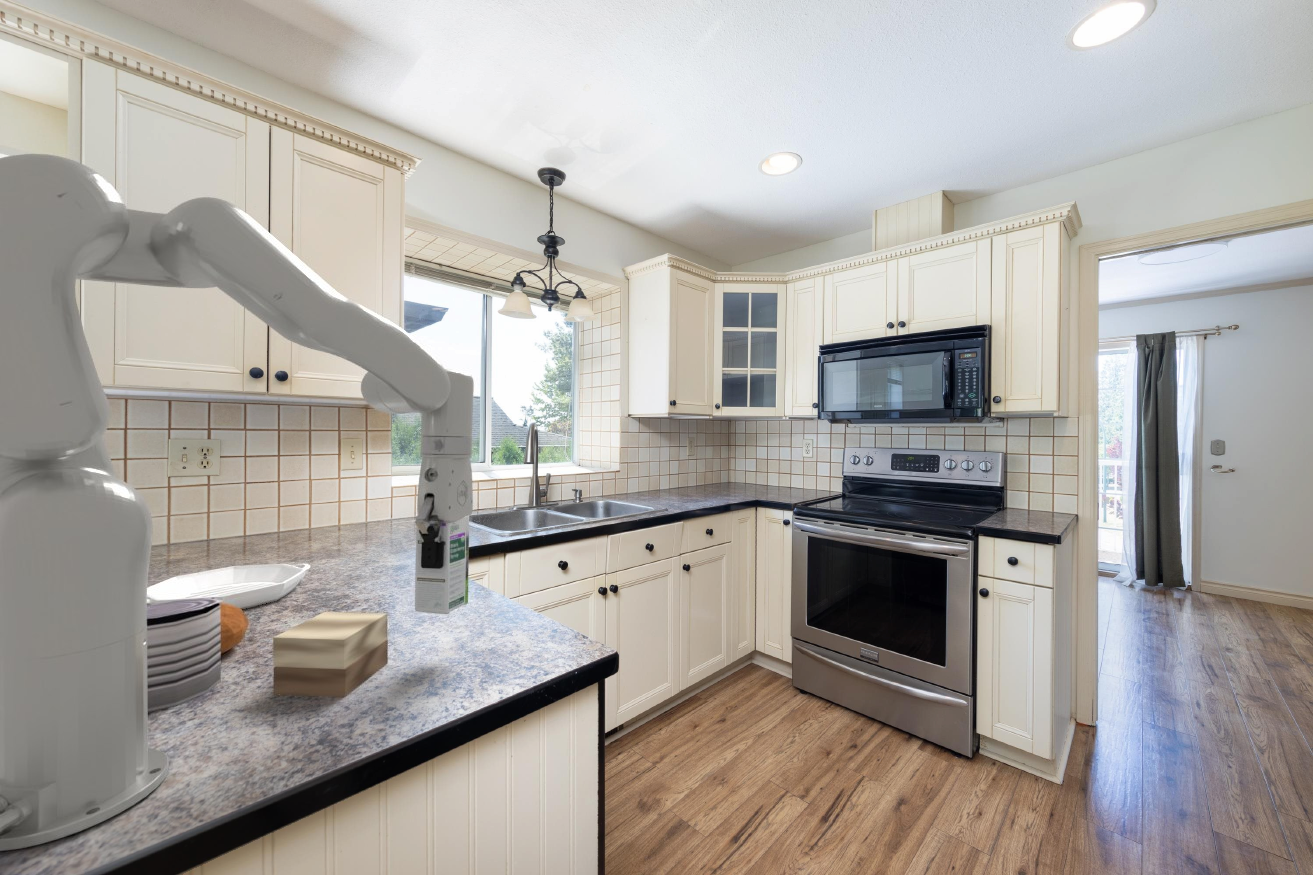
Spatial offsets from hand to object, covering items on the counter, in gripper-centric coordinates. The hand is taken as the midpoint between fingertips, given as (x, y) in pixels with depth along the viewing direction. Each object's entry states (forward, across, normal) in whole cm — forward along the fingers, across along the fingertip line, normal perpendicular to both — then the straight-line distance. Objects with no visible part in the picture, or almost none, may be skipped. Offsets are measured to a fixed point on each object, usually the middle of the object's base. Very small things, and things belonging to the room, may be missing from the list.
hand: (442, 561), depth 81 cm
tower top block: (+12, -7, +13) cm, 19 cm away
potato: (+16, 0, +37) cm, 41 cm away
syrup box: (+7, 0, 0) cm, 7 cm away
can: (+16, -12, +32) cm, 38 cm away
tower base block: (+16, -7, +12) cm, 21 cm away
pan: (+16, +26, +58) cm, 66 cm away
